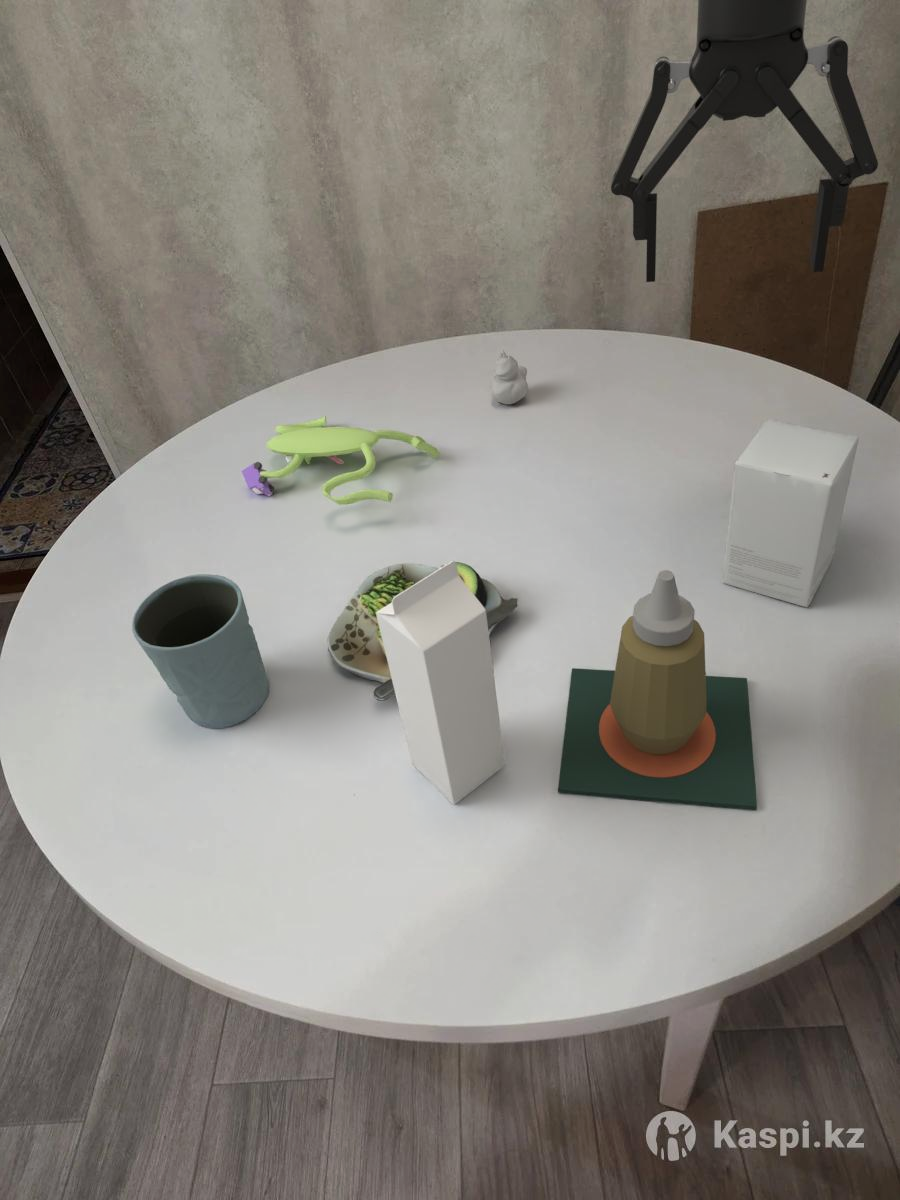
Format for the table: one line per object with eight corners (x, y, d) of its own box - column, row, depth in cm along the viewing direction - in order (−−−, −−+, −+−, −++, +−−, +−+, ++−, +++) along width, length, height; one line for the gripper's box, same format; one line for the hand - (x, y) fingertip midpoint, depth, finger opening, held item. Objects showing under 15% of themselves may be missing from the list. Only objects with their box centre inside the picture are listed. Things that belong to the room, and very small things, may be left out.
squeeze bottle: (713, 707, 77) (733, 552, 65) (691, 778, 72) (709, 622, 60) (624, 686, 80) (628, 533, 68) (597, 752, 75) (596, 599, 63)
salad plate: (458, 732, 79) (452, 699, 76) (294, 687, 86) (283, 655, 83) (530, 596, 92) (527, 563, 89) (382, 566, 99) (375, 534, 96)
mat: (746, 682, 80) (747, 676, 79) (756, 810, 70) (757, 805, 69) (572, 672, 83) (572, 667, 83) (558, 793, 73) (557, 788, 73)
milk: (412, 765, 77) (364, 580, 63) (463, 728, 80) (429, 541, 65) (455, 807, 74) (415, 619, 59) (507, 766, 76) (482, 576, 61)
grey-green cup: (289, 705, 84) (257, 616, 76) (191, 753, 81) (146, 666, 73) (254, 645, 91) (221, 558, 83) (162, 687, 88) (119, 601, 80)
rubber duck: (482, 404, 123) (476, 352, 118) (511, 384, 126) (507, 332, 121) (511, 414, 120) (507, 361, 115) (540, 393, 123) (538, 341, 118)
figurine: (375, 542, 102) (366, 504, 99) (216, 489, 115) (203, 453, 111) (459, 461, 113) (454, 424, 109) (305, 421, 125) (296, 386, 122)
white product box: (835, 558, 91) (864, 435, 81) (807, 610, 86) (834, 485, 76) (750, 535, 95) (767, 415, 85) (718, 583, 90) (733, 462, 80)
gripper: (934, -60, 61) (880, 247, 75) (581, -11, 67) (588, 266, 80) (961, -54, 56) (898, 277, 69) (573, -2, 61) (582, 295, 75)
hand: (731, 272), depth 75 cm, fingers open, 13 cm apart
